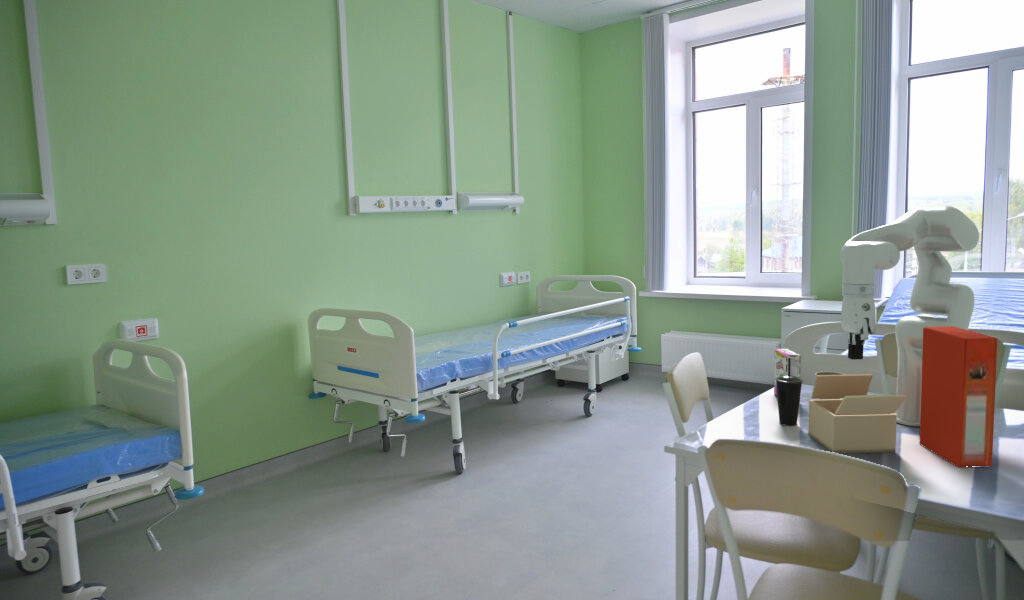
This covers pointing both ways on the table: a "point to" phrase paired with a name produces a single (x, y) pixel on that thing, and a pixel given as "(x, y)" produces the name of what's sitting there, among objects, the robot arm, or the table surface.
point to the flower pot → (828, 374)
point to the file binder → (958, 395)
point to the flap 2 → (870, 404)
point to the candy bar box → (785, 364)
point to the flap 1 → (841, 385)
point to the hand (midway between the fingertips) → (855, 358)
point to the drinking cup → (788, 397)
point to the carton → (851, 429)
